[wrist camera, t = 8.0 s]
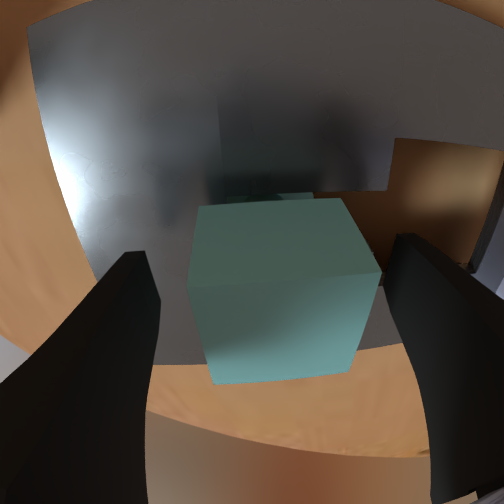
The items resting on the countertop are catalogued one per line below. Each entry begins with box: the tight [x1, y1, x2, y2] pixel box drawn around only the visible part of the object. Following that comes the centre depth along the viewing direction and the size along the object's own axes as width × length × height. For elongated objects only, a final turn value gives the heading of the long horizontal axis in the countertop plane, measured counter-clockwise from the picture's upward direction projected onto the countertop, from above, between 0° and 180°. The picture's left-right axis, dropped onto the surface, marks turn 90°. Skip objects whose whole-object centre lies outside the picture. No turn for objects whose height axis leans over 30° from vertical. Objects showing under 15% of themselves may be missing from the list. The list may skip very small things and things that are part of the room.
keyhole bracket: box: [27, 0, 504, 365], centre depth 12 cm, size 20×16×4 cm
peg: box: [186, 192, 382, 385], centre depth 11 cm, size 4×4×8 cm
